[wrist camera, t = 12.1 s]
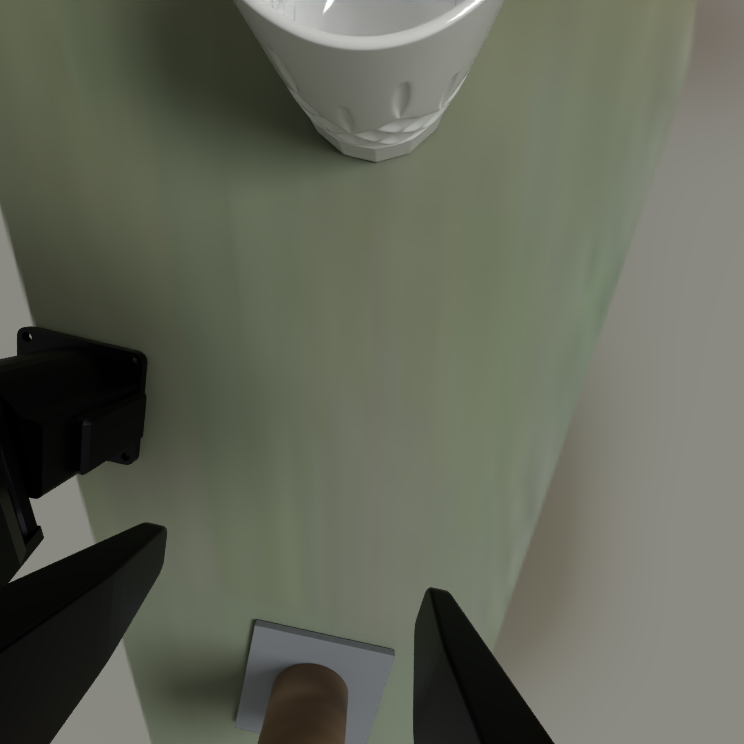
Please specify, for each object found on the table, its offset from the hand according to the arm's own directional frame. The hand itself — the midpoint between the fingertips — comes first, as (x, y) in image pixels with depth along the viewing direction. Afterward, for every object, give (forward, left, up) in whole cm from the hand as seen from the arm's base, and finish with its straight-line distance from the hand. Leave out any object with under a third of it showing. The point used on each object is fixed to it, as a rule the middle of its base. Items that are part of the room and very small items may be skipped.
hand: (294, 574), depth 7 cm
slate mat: (+2, -21, -13) cm, 25 cm away
